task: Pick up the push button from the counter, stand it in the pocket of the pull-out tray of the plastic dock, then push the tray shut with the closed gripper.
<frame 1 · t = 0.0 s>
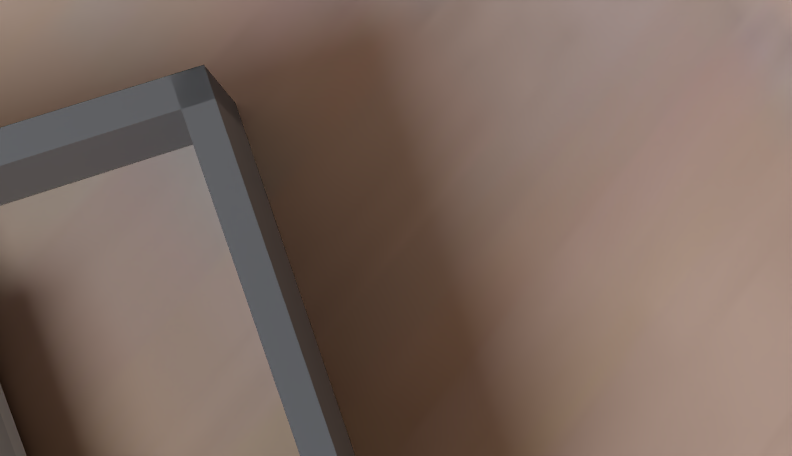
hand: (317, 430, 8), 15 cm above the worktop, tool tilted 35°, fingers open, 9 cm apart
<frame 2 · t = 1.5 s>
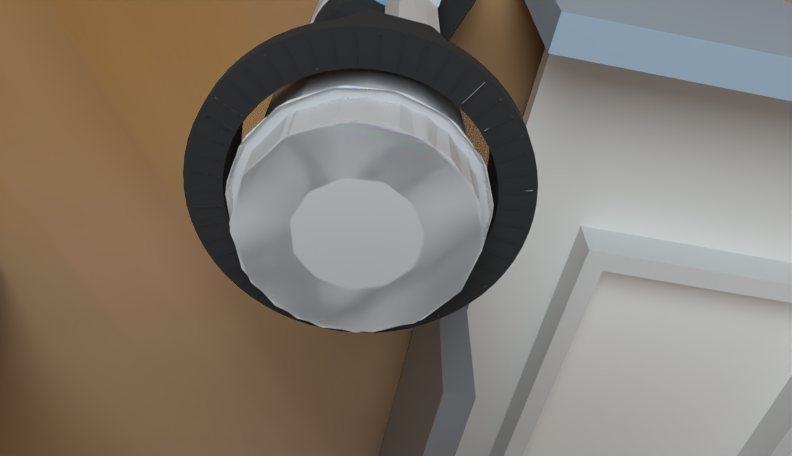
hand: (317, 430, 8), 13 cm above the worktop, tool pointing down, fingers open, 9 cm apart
tray: (723, 351, 21), point 3 cm above the worktop, slide at 8.0 cm
dock: (610, 445, 27), on the worktop
push button: (366, 34, 19), on the worktop
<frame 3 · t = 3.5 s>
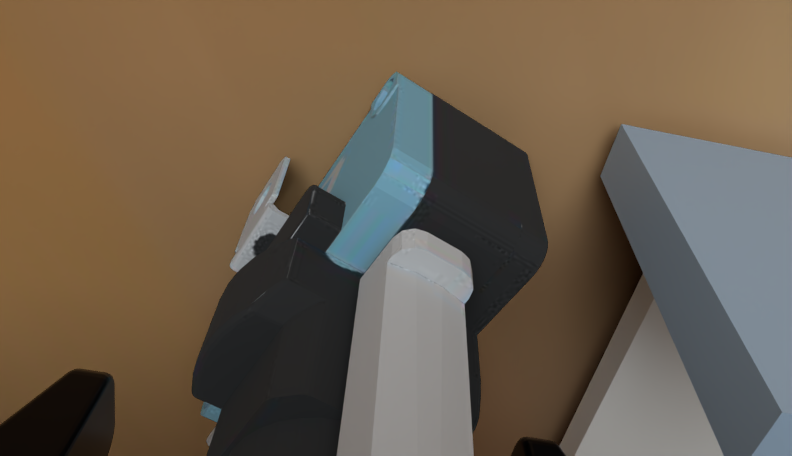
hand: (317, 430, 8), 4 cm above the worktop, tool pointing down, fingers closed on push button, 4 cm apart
push button: (340, 244, 11), on the worktop, touching gripper
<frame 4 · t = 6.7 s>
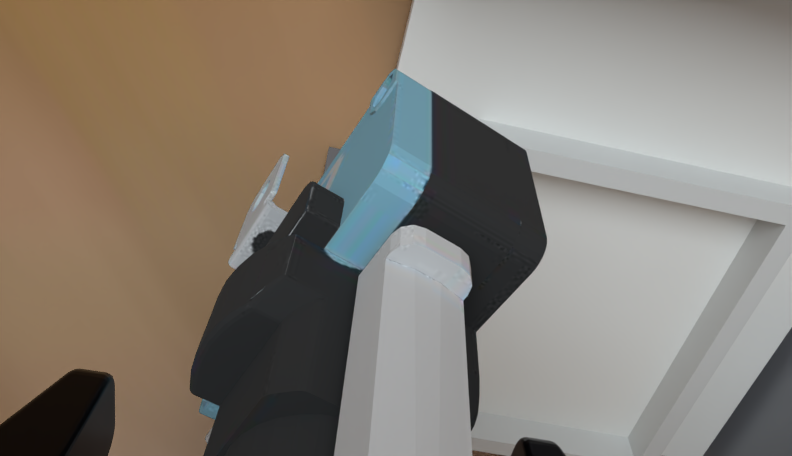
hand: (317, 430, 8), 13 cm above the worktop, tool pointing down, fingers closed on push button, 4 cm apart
tray: (629, 258, 20), point 3 cm above the worktop, slide at 8.0 cm
dock: (525, 379, 26), on the worktop
push button: (339, 242, 11), point 9 cm above the worktop, touching gripper
when the fingers open (6 cm above the worktop, at t = 9.8 s): push button drops 2 cm, resting on tray.
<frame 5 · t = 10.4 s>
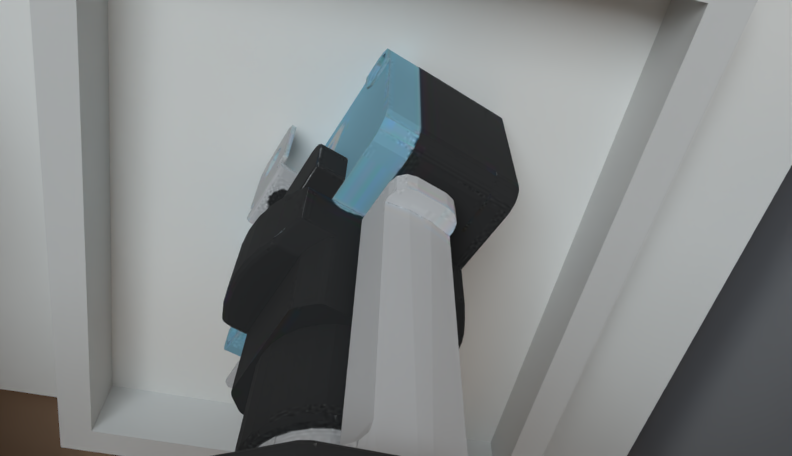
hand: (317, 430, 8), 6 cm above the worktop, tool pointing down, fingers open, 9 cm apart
tray: (378, 75, 9), point 3 cm above the worktop, slide at 7.6 cm, touching push button
dock: (320, 335, 16), on the worktop
push button: (340, 205, 13), point 1 cm above the worktop, touching tray
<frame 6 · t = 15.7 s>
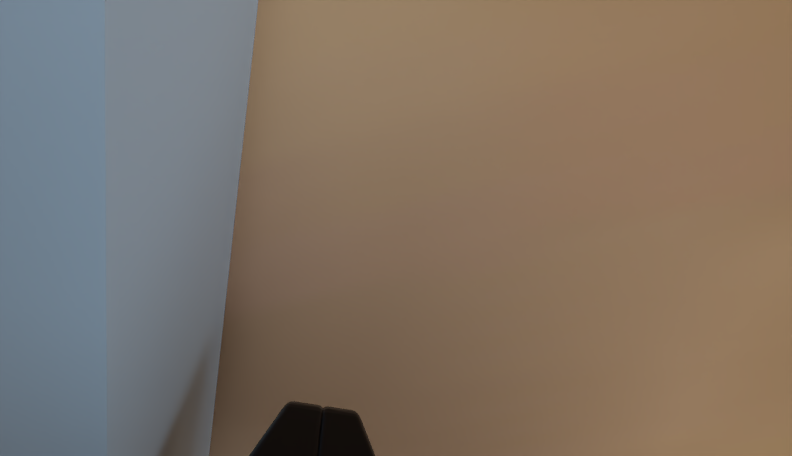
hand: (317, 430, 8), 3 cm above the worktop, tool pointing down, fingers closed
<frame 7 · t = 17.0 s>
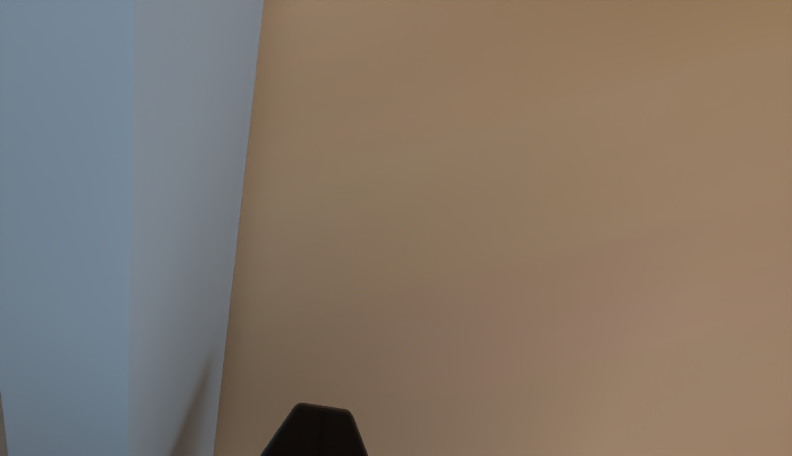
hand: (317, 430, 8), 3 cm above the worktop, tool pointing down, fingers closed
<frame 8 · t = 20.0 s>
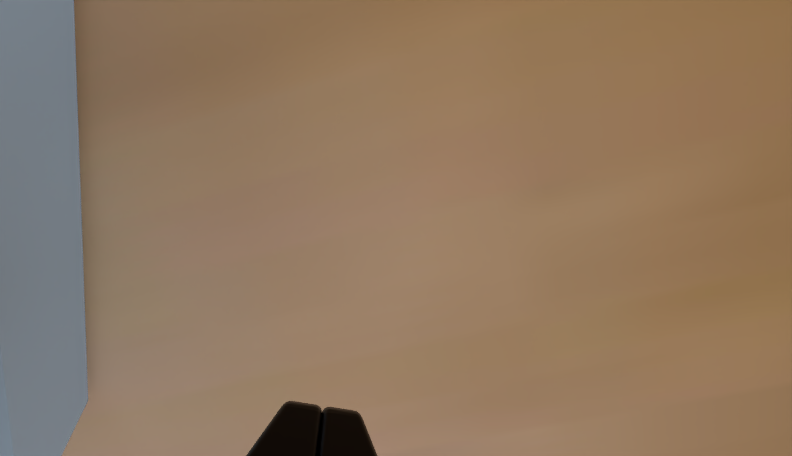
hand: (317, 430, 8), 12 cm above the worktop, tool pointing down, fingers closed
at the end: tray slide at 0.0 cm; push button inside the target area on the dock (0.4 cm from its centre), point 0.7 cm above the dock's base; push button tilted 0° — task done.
